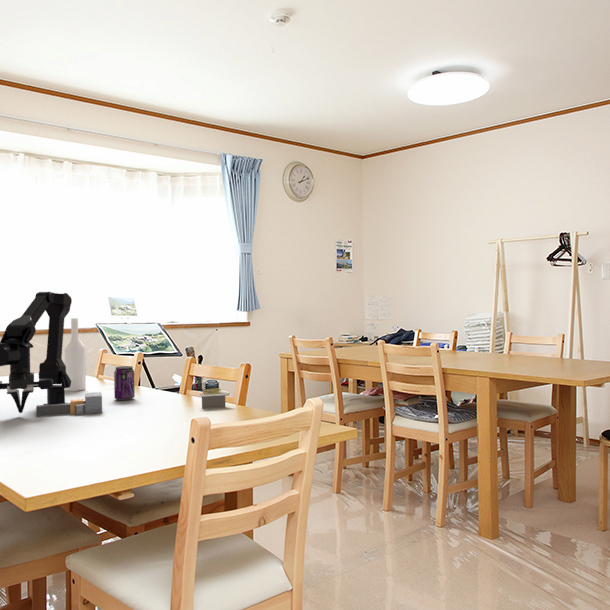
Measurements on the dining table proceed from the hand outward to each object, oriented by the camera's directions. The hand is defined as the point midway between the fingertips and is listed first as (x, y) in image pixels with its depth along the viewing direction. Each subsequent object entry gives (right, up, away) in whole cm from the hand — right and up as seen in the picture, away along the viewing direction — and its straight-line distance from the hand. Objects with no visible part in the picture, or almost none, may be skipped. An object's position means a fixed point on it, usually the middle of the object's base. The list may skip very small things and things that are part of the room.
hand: (20, 412), depth 183 cm
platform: (+59, -1, +12) cm, 60 cm away
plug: (+11, -1, +4) cm, 12 cm away
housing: (+19, -1, +7) cm, 20 cm away
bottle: (-7, -2, +61) cm, 61 cm away
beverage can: (+23, -1, +32) cm, 39 cm away
